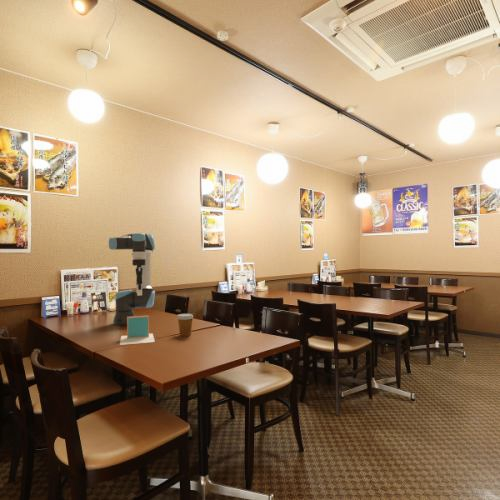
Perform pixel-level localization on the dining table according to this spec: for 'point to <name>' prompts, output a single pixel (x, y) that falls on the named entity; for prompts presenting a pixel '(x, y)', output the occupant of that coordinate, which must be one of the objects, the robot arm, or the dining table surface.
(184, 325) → the disposable coffee cup
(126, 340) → the mat
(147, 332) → the tile
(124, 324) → the robot arm
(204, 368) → the dining table surface
